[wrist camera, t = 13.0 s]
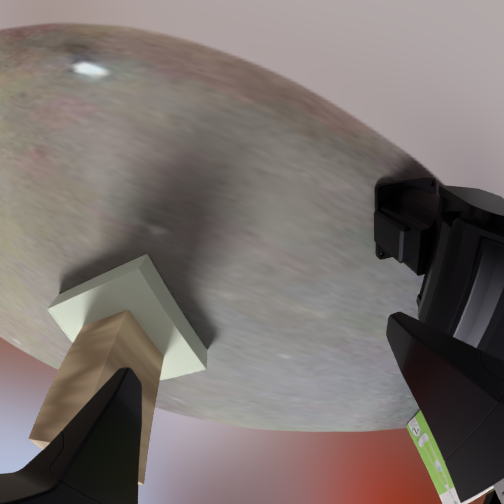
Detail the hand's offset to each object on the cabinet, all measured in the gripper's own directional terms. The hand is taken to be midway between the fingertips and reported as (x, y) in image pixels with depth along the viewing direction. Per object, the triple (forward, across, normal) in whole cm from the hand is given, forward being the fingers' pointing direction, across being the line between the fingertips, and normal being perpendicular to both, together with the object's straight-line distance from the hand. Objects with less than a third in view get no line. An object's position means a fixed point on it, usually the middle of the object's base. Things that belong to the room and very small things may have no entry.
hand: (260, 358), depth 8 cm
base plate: (+13, +12, +7) cm, 19 cm away
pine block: (+10, +12, +7) cm, 17 cm away
